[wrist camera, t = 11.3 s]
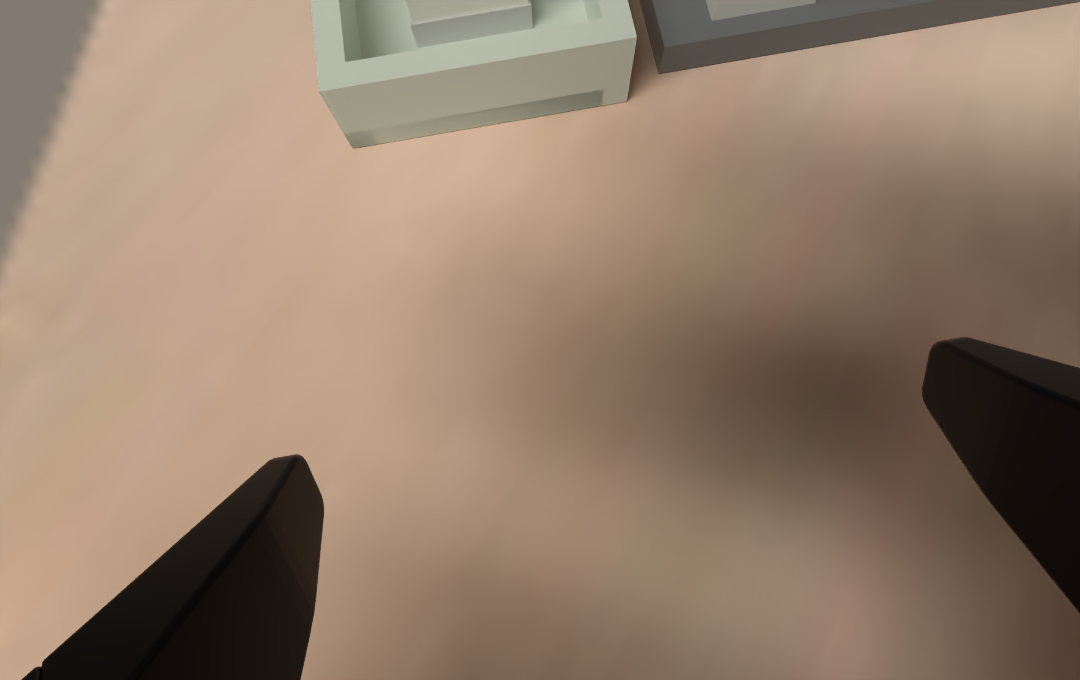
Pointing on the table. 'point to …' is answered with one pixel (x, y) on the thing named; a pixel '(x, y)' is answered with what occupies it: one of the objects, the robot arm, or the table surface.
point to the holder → (795, 24)
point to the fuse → (466, 19)
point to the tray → (466, 68)
